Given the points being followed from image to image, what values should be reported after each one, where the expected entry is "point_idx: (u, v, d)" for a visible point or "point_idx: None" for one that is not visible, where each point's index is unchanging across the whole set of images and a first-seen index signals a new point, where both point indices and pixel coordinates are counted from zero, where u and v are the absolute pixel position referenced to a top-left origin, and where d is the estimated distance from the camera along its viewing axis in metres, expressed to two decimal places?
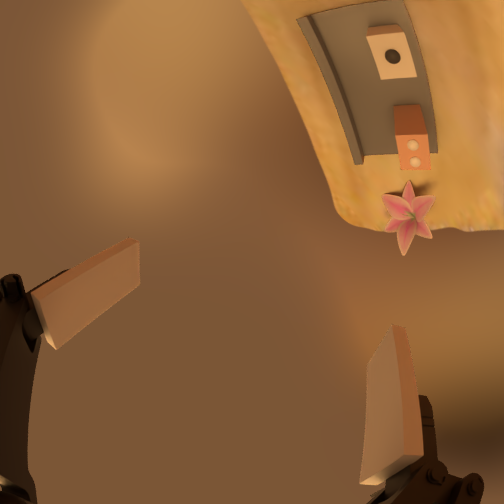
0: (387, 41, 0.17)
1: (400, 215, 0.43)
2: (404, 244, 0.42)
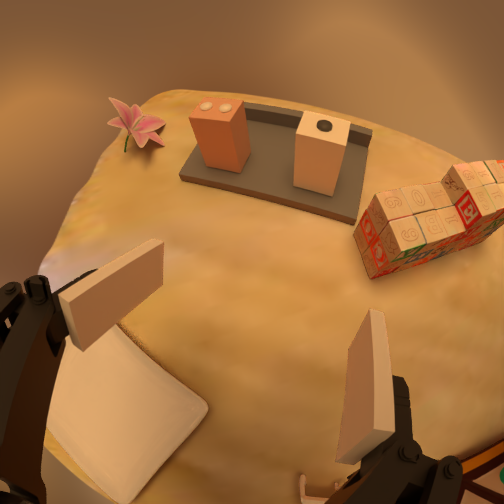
0: (340, 130, 0.24)
1: (140, 121, 0.38)
2: (116, 103, 0.34)
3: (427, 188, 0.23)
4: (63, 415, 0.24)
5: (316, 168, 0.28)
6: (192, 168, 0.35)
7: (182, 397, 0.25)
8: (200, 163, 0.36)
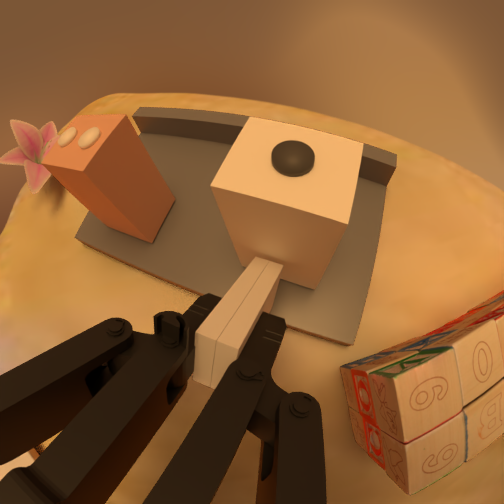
0: (336, 171, 0.09)
1: (51, 146, 0.24)
2: (18, 127, 0.19)
3: (502, 328, 0.08)
4: None
5: (276, 252, 0.13)
6: (91, 228, 0.21)
7: None
8: None
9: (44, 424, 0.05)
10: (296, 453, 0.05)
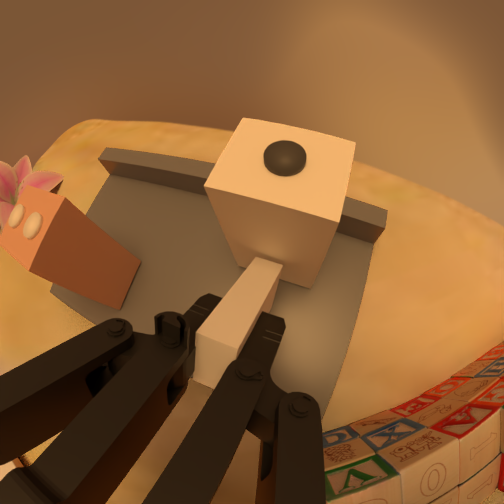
0: (327, 170, 0.09)
1: (25, 184, 0.22)
2: None
3: (466, 444, 0.06)
4: None
5: (271, 251, 0.13)
6: None
7: None
8: None
9: (44, 424, 0.05)
10: (295, 453, 0.05)
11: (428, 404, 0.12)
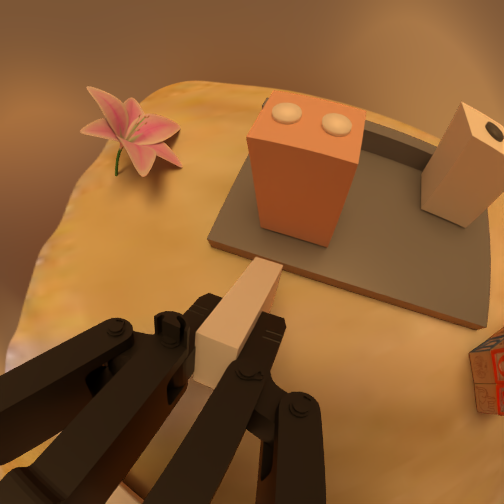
0: None
1: (139, 124, 0.23)
2: (99, 96, 0.19)
3: None
4: None
5: (469, 190, 0.14)
6: (233, 229, 0.20)
7: None
8: (247, 219, 0.20)
9: (44, 424, 0.05)
10: (296, 453, 0.05)
11: None
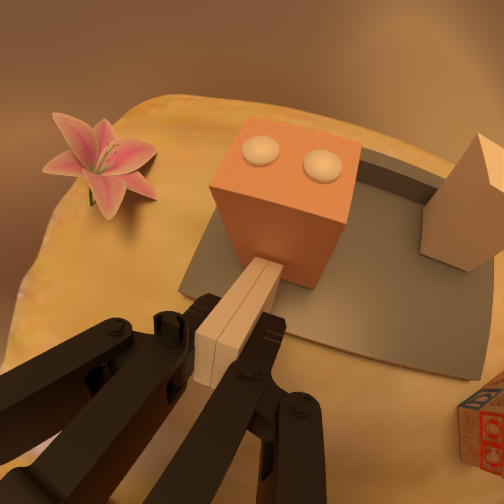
0: None
1: (111, 151, 0.21)
2: (65, 124, 0.17)
3: None
4: None
5: (477, 238, 0.12)
6: (205, 281, 0.18)
7: None
8: (220, 270, 0.18)
9: (44, 424, 0.05)
10: (296, 453, 0.05)
11: None
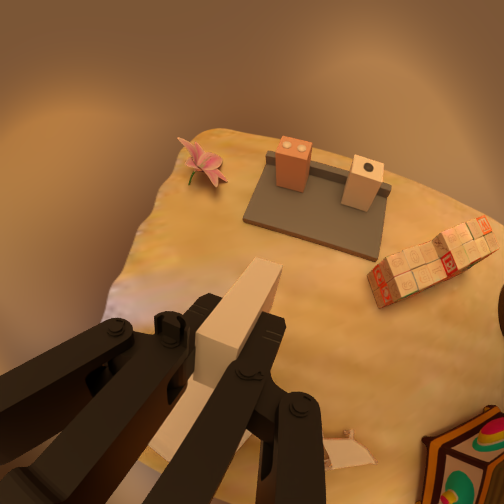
0: (378, 171, 0.37)
1: (203, 158, 0.50)
2: (185, 144, 0.45)
3: (421, 248, 0.34)
4: None
5: (359, 193, 0.41)
6: (253, 213, 0.47)
7: None
8: (259, 209, 0.47)
9: (44, 424, 0.05)
10: (295, 453, 0.05)
11: None
